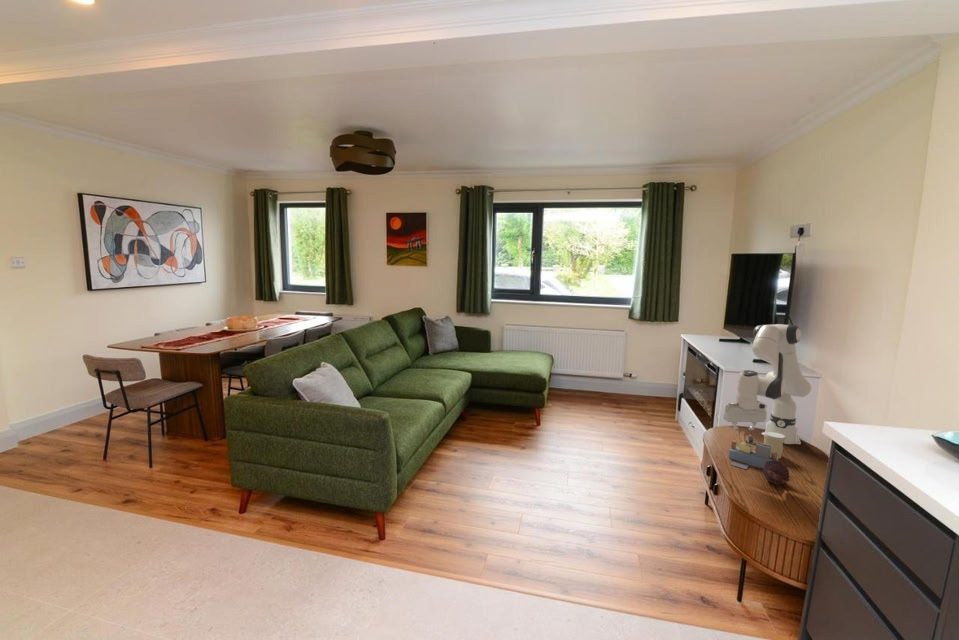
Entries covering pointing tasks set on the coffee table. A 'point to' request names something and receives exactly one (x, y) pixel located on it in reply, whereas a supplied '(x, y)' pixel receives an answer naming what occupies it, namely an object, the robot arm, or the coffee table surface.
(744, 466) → the mat
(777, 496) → the coffee table surface
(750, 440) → the ball-knob lever
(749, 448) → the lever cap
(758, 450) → the plane body
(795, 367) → the robot arm
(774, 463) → the pine cone
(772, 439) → the coffee cup
